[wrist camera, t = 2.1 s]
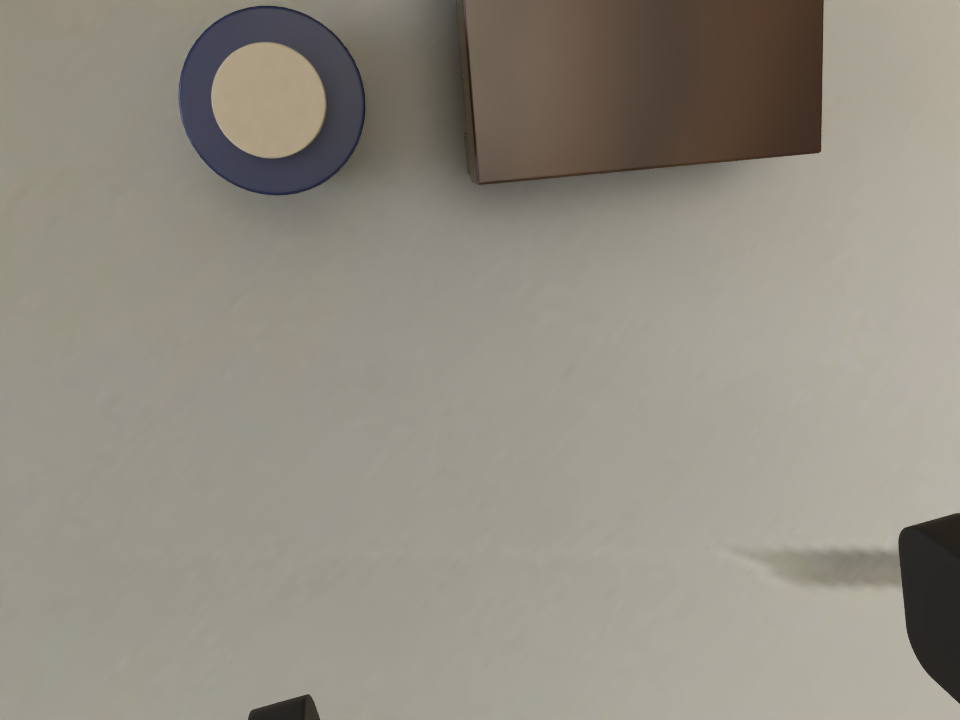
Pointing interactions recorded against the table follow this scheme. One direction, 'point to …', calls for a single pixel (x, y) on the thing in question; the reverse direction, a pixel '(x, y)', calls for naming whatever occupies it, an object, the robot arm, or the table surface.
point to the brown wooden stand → (636, 84)
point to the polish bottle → (272, 100)
